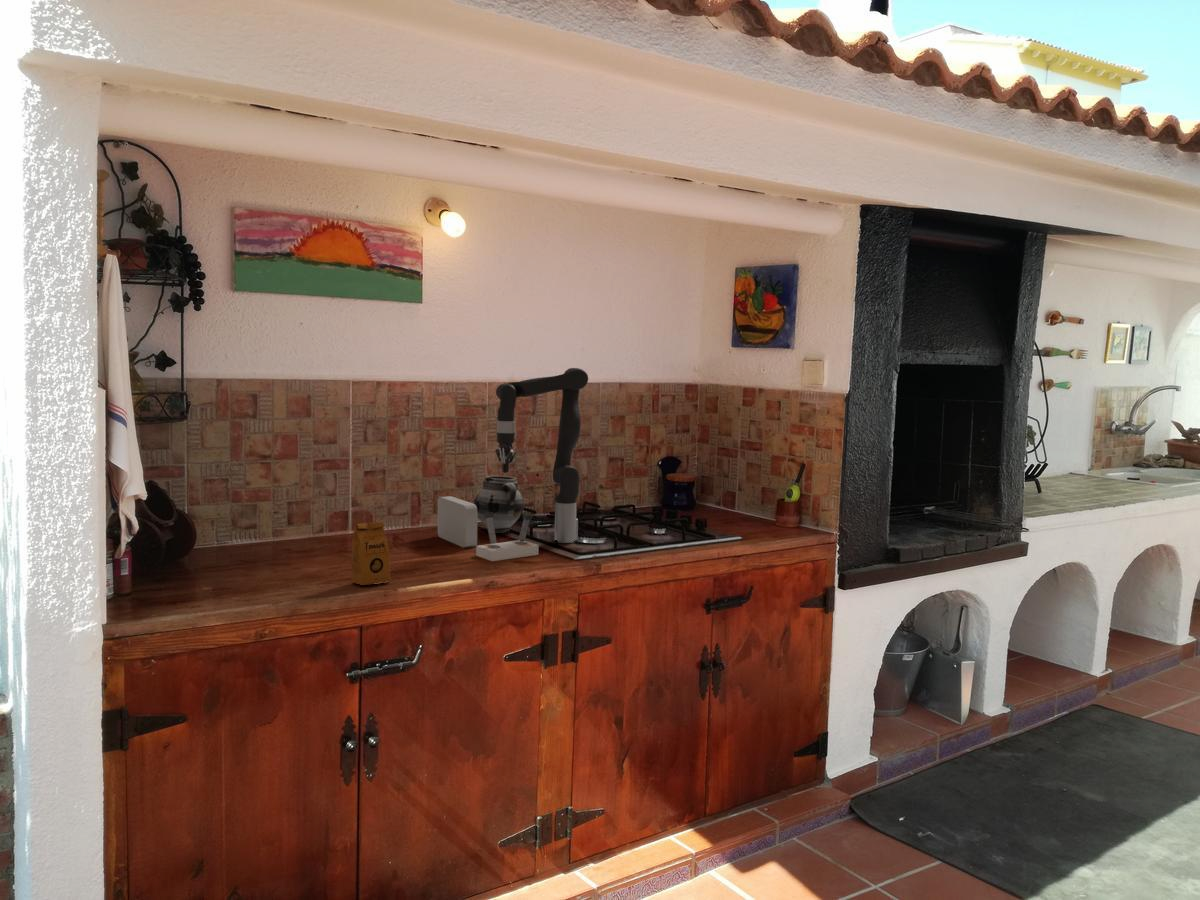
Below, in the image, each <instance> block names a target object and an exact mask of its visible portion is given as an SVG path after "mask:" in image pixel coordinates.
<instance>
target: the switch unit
mask: <svg viewBox="0 0 1200 900" xmlns="http://www.w3.org/2000/svg"><path fill="white" fill-rule="evenodd" d="M475 547H476V550H475V551H476V553H475V554H476V557H479V558H482V559H485V560H487V561H490V562H497V561H503V560H510V559H517V558H518V559H519V558H525V557H526V558H527V557H530V556H537V555H538V556H539V544H537V543H534V542H529V541H527V540H525V541H521V542H520V541H519V540H518V539H517V540H509V541H505V542H504V541H503V542H497V543H495V544H490V543H487V544H486V543H485V544H482V545H476V546H475Z"/></svg>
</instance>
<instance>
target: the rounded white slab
mask: <svg viewBox="0 0 1200 900" xmlns="http://www.w3.org/2000/svg"><path fill="white" fill-rule="evenodd" d="M437 536H438V537H439V538H440V539H443V540H445V541H447V542H450V543H452V544H454V545H457V546H458V547H461V548H473V547H476V546H478V545H477V544H478V516H477V507H476V505H475V504H474V502H473V503H472V502H469V501H466V500H465V499H464V500H463V499H461V498H457V497H454V496H451V495H450V496H449V495H447V496H439V497H438V499H437Z"/></svg>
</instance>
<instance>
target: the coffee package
mask: <svg viewBox="0 0 1200 900" xmlns="http://www.w3.org/2000/svg"><path fill="white" fill-rule="evenodd" d="M384 526H385V522H384V520H382V521H374V522H363V523H355V525H354V528H353V535H352V541H351V582H352V581H353V582H354V583H353V584H355V583H356V585H357V584H360V585H366V584H374V583H379V582H386V581H389V582H390V580H391V559H390V547H389V543H388V539H387V536H386V532H385V528H384ZM360 585H359V586H360Z"/></svg>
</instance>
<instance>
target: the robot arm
mask: <svg viewBox="0 0 1200 900" xmlns="http://www.w3.org/2000/svg"><path fill="white" fill-rule="evenodd" d="M588 381H589V375H588V373H587V372H586V371H585V370H584V369H583V368H580V367H579V368H578V367H570V368H567V369H566V370H565V371H564V373H561V374H557V375H552V376H543V377H536V378H535V377H534V378H529V379H525V380H521V381H514V382H506V383H501V384H499V385H498V386H497V387H496V389H495V395H496V396H497V398H498V399H499V400H500V402H499V407H498V408H497V421H496V422H497V423H496V443H498V448H495V454H496V456H497V459H498V462H501V466H502V467H501V469H502V470H501V472H502V473H504V474H505V473H506V474H507V473H508V474H509V466H510V464H511V463H512V462H513V460H514V458H515V456H516V453H517V452H516V451H514V450H513V448H514V446H513V444H514V443H515V442H516V441H515V439H516V438H515V437H516V434H515V433H516V429H515V428H516V427H515V425H516V424H515V408H516V404H517V403H516V402H517V398H527V397H533V396H537V395H541V394H546V393H551V392H555V391H562V393H561V394H562V395H561V396H562V397H561V398H562V399H561V407H560V417H559V423H558V425H559V426H558V434H557V435H558V438H557V447H556V454H555V459H554V463H553V469H552V480H553V482H554V483H555V484H556V485H558V486H560V487H559V493H557V494H556V495H555V499H554V502H555V504H554V507H555V508H554V541H555V540H557V541H558V542H557V543H560V544H569V543H575V542H576V541H575V540H579V539H578V538H579V535H578V534H579V533H578V531H579V519H578V518H577V499H578V496H579V494H580V493H579V492H580V491H579V489H580V472H579V471H578V469H577V468H576V467H574V466H572V465H571V462H572V456H573V455H572V454H573V451H574V450H575V449H574V448H575V447H576V444H577V442H578V440H579V438H580V434H581V425H582V424H581V422H582V418H581V412H580V406H579V397H580V391H581V389H583V388H585V387H586V386H587V384H588ZM574 541H575V542H574Z"/></svg>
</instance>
